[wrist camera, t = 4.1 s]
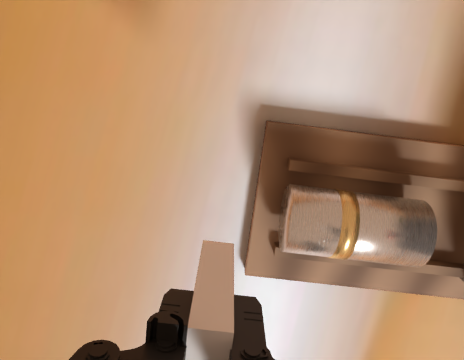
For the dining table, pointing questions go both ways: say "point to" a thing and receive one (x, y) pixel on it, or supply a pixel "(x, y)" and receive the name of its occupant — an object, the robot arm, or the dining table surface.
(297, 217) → the pipe
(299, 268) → the board
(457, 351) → the dining table surface
